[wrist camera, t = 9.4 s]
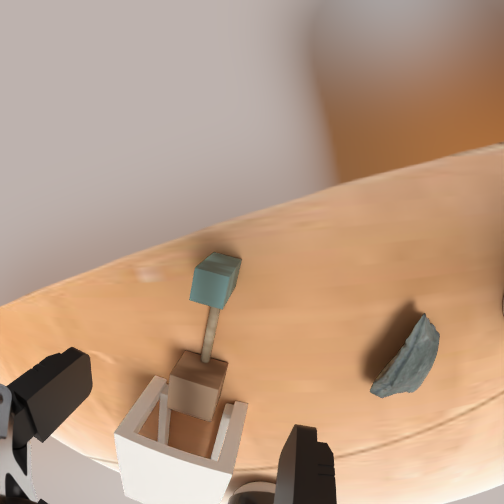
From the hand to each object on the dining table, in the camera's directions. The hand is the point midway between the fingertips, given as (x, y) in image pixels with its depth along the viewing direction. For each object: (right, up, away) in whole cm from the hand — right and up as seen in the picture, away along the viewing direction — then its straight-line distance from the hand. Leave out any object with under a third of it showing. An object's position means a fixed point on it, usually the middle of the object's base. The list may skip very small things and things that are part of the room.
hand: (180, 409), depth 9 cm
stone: (+21, -6, +20) cm, 29 cm away
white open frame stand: (-5, -19, +25) cm, 32 cm away
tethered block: (-2, -3, +21) cm, 21 cm away
